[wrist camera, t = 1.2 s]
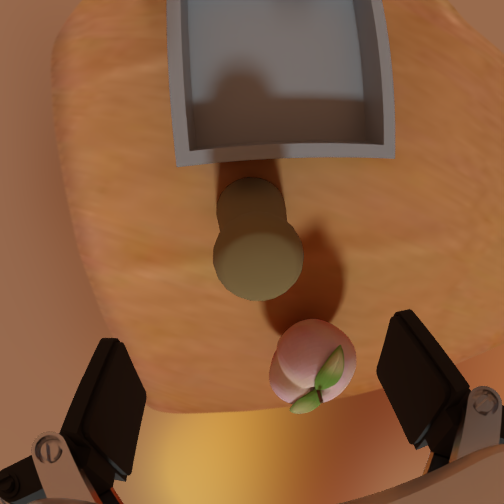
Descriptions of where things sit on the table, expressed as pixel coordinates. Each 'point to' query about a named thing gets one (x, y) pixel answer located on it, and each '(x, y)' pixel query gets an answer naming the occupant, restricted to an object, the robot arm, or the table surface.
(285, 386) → the decorative fruit
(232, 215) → the cork
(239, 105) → the box
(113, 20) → the table surface
